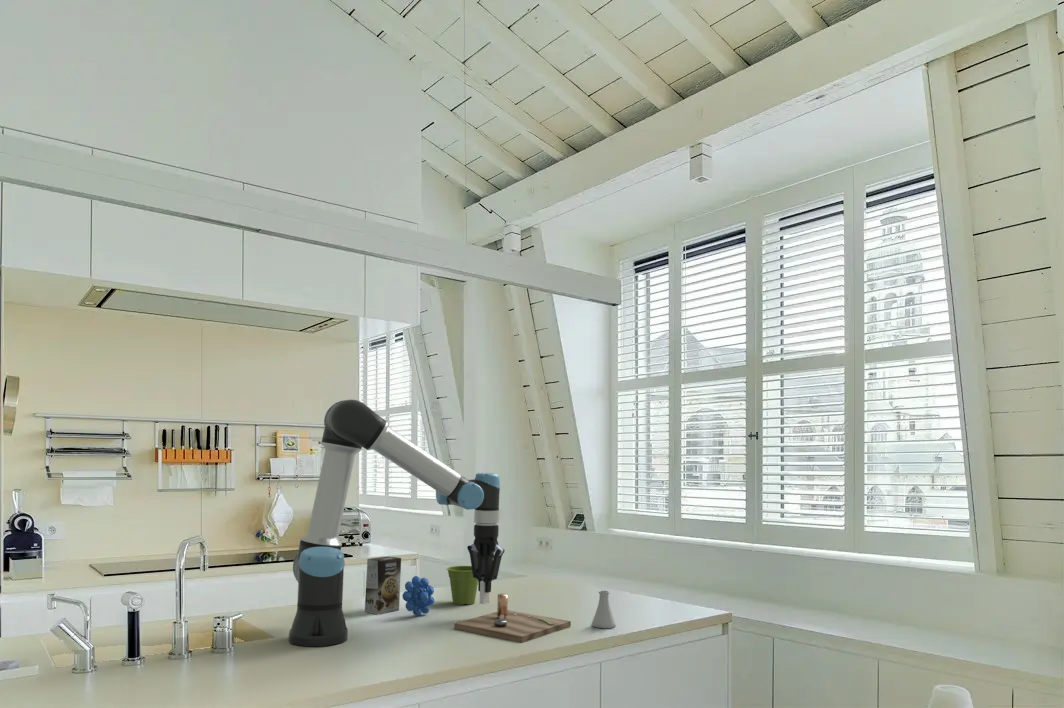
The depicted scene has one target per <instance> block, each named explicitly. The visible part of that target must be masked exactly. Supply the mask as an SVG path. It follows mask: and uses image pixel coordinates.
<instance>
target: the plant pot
mask: <svg viewBox="0 0 1064 708" xmlns="http://www.w3.org/2000/svg"><path fill="white" fill-rule="evenodd" d="M446 570H447V572H448V577H449V583H450V591H451V597H452V598H451V599H452V603H453V604H454V605H462V606H463V605H465V604H466V605H472V604H474V603H476V597H477V591H478V579H476V578H474V577H473V572H472V566H471V565H453V566H448V567H446Z"/></svg>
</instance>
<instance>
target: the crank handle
mask: <svg viewBox="0 0 1064 708" xmlns="http://www.w3.org/2000/svg"><path fill="white" fill-rule="evenodd" d="M508 598H509V594H507V593H498V594H497V603H496V604H497V605H496V606H497V611H496V612H497V616H500V617H499V619H498V620H494V625H496V626H505V625H507V620H504V617H505V616H507V610H509V609H508V607H509V606H508V603H509V602H508V601H509V600H508Z"/></svg>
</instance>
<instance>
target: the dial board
mask: <svg viewBox="0 0 1064 708" xmlns="http://www.w3.org/2000/svg"><path fill="white" fill-rule="evenodd" d="M499 617H500V616H497V611H495V612H492V613H488V614H484V615H480V616H475V617H473V618H472V617H471V618H469V619H465V620H461V621H456V622H454V625H453V626H454V627H453V628H454V629H453V630H460V631H464V632H469V633H474V634H479V635H485V636H489V637H494V638H498V639H503V640H509V641H513V642H518V643H524V642H528V641H531V640H533V639H537V638H540V637H542V636H545V635H550V634H553V633H555V632H558V631H561V630H564V629H567V628H570V627H571V622H572V621H570V620H567V619H566V620H565V619H561V618H554V617H548V616H543V615H539V614H538V615H537V614H536V615H535V614H534V613H533V614H532V613H527V612H521V611H515V610H509V609H507V616H505V617H504V620H507V625H505V626H496V625H494V620H498V619H499Z"/></svg>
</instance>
